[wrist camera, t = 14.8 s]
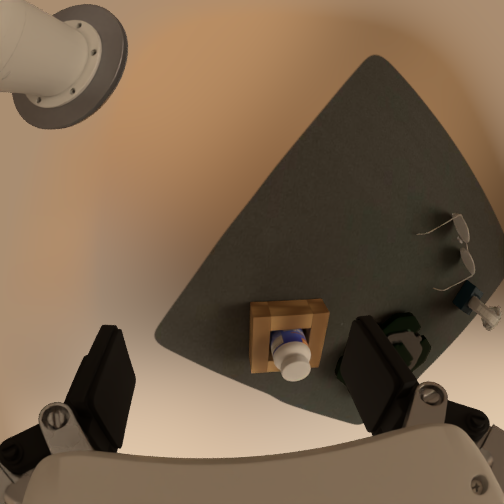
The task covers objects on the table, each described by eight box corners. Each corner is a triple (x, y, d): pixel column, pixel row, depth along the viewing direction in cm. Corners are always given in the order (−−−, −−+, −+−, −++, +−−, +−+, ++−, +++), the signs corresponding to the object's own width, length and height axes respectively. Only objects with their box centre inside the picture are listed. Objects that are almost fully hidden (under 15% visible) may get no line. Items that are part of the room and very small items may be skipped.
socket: (249, 356, 47) (251, 373, 44) (250, 301, 43) (253, 317, 40) (312, 351, 49) (318, 367, 45) (321, 298, 44) (329, 312, 41)
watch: (464, 310, 51) (493, 338, 41) (448, 299, 49) (480, 329, 38) (478, 289, 49) (509, 315, 39) (463, 276, 47) (498, 303, 37)
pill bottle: (306, 321, 46) (324, 362, 37) (288, 345, 47) (302, 388, 38) (278, 310, 44) (291, 352, 35) (260, 336, 46) (269, 379, 37)
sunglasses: (463, 265, 46) (476, 279, 41) (429, 286, 48) (441, 302, 44) (449, 205, 41) (465, 216, 36) (411, 228, 43) (425, 241, 39)
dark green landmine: (402, 300, 47) (415, 313, 43) (429, 345, 53) (439, 358, 49) (324, 362, 50) (331, 379, 46) (365, 395, 56) (372, 410, 52)
